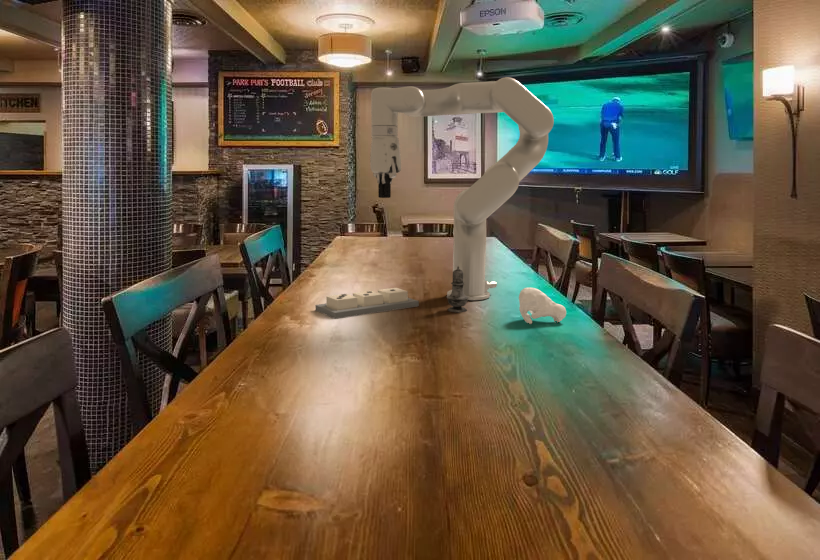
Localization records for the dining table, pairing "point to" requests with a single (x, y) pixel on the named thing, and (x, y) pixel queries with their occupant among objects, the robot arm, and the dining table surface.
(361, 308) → the board
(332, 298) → the tile three
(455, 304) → the grey turned candlestick
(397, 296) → the tile one
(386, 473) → the dining table surface
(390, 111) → the robot arm
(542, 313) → the cream animal figurine
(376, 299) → the tile two
